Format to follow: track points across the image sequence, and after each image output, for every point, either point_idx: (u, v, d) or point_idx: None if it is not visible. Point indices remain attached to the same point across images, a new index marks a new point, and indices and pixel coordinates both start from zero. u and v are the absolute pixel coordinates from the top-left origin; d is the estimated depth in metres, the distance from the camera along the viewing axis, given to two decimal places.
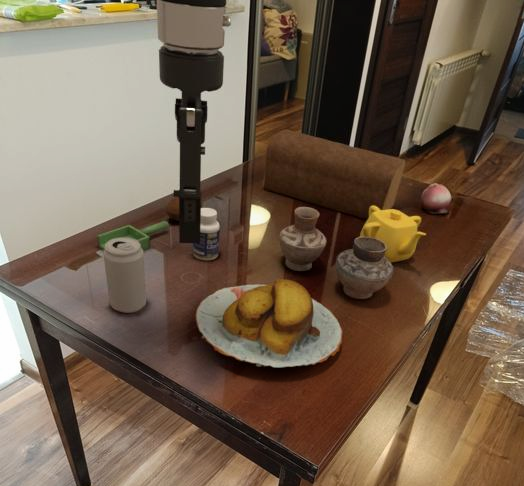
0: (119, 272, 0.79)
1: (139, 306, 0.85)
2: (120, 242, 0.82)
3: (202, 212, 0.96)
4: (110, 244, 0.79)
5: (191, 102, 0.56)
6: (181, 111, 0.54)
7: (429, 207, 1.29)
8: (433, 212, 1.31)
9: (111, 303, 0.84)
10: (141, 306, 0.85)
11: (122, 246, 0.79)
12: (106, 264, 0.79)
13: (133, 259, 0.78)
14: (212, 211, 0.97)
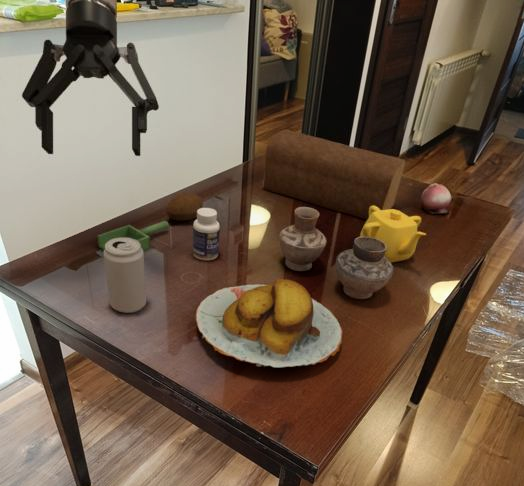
0: (119, 272, 0.79)
1: (139, 306, 0.85)
2: (120, 242, 0.82)
3: (202, 212, 0.96)
4: (110, 244, 0.79)
5: None
6: None
7: (429, 207, 1.29)
8: (433, 212, 1.31)
9: (111, 303, 0.84)
10: (141, 306, 0.85)
11: (122, 246, 0.79)
12: (106, 264, 0.79)
13: (133, 259, 0.78)
14: (212, 211, 0.97)
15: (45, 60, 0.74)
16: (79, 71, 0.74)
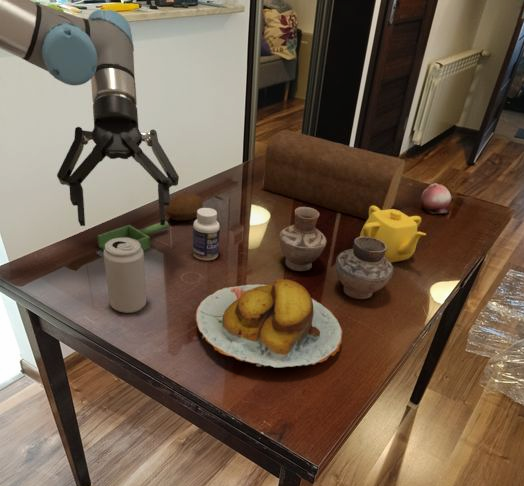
0: (119, 272, 0.79)
1: (139, 306, 0.85)
2: (120, 242, 0.82)
3: (202, 212, 0.96)
4: (110, 244, 0.79)
5: None
6: (156, 132, 0.86)
7: (429, 207, 1.29)
8: (433, 212, 1.31)
9: (111, 303, 0.84)
10: (141, 306, 0.85)
11: (122, 246, 0.79)
12: (106, 264, 0.79)
13: (133, 259, 0.78)
14: (212, 211, 0.97)
15: (77, 144, 0.82)
16: (108, 153, 0.84)
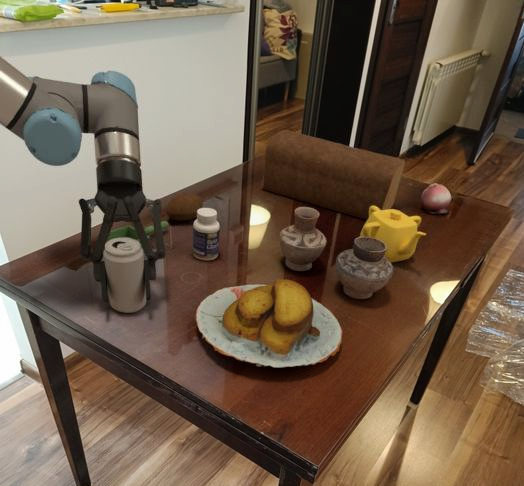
0: (119, 272, 0.79)
1: (139, 306, 0.85)
2: (120, 242, 0.82)
3: (202, 212, 0.96)
4: (110, 244, 0.79)
5: None
6: None
7: (429, 207, 1.29)
8: (433, 212, 1.31)
9: (111, 303, 0.84)
10: (141, 306, 0.85)
11: (122, 246, 0.79)
12: (106, 264, 0.79)
13: (133, 259, 0.78)
14: (212, 211, 0.97)
15: (87, 217, 0.80)
16: (112, 218, 0.82)
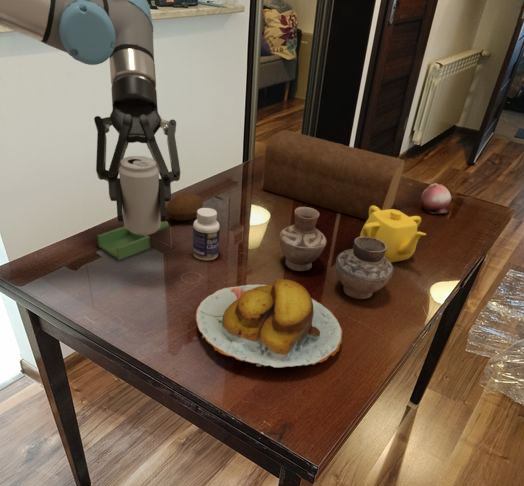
0: (134, 189, 0.79)
1: (154, 228, 0.85)
2: None
3: (202, 212, 0.96)
4: (126, 161, 0.79)
5: None
6: None
7: (429, 207, 1.29)
8: (433, 212, 1.31)
9: (126, 224, 0.84)
10: (156, 228, 0.85)
11: (138, 162, 0.79)
12: (122, 180, 0.79)
13: (149, 175, 0.78)
14: (212, 211, 0.97)
15: (102, 134, 0.80)
16: (127, 137, 0.82)
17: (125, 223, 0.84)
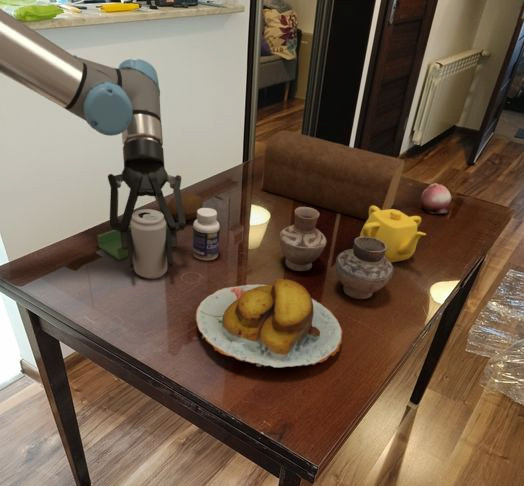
0: (144, 240, 0.88)
1: (161, 273, 0.94)
2: (144, 213, 0.91)
3: (202, 212, 0.96)
4: (136, 214, 0.88)
5: None
6: None
7: (429, 207, 1.29)
8: (433, 212, 1.31)
9: (136, 269, 0.93)
10: (163, 272, 0.94)
11: (147, 216, 0.88)
12: (133, 232, 0.88)
13: (157, 228, 0.87)
14: (212, 211, 0.97)
15: (115, 190, 0.89)
16: (137, 192, 0.91)
17: (135, 268, 0.93)
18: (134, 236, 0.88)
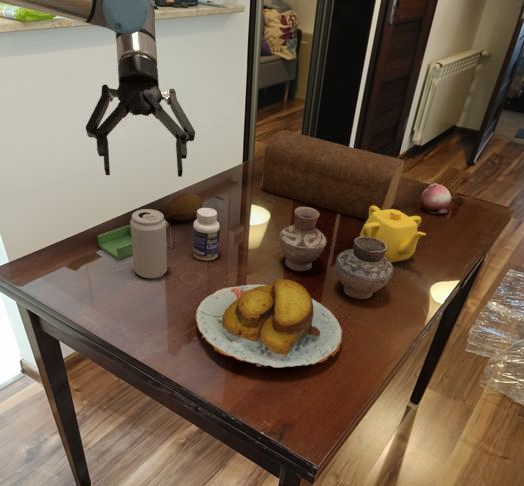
0: (144, 240, 0.88)
1: (161, 273, 0.94)
2: (144, 213, 0.91)
3: (202, 212, 0.96)
4: (136, 214, 0.88)
5: None
6: None
7: (429, 207, 1.29)
8: (433, 212, 1.31)
9: (136, 269, 0.93)
10: (163, 272, 0.94)
11: (147, 216, 0.88)
12: (133, 232, 0.88)
13: (157, 228, 0.87)
14: (212, 211, 0.97)
15: (103, 100, 0.91)
16: (131, 109, 0.92)
17: (135, 268, 0.93)
18: (134, 236, 0.88)
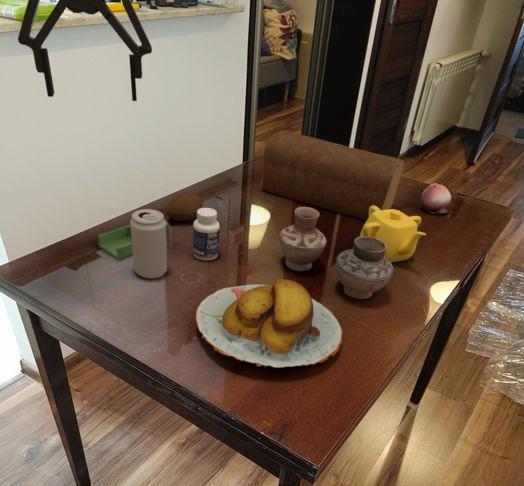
0: (144, 240, 0.88)
1: (161, 273, 0.94)
2: (144, 213, 0.91)
3: (202, 212, 0.96)
4: (136, 214, 0.88)
5: None
6: None
7: (429, 207, 1.29)
8: (433, 212, 1.31)
9: (136, 269, 0.93)
10: (163, 272, 0.94)
11: (147, 216, 0.88)
12: (133, 232, 0.88)
13: (157, 228, 0.87)
14: (212, 211, 0.97)
15: None
16: (72, 11, 0.74)
17: (135, 268, 0.93)
18: (134, 236, 0.88)
